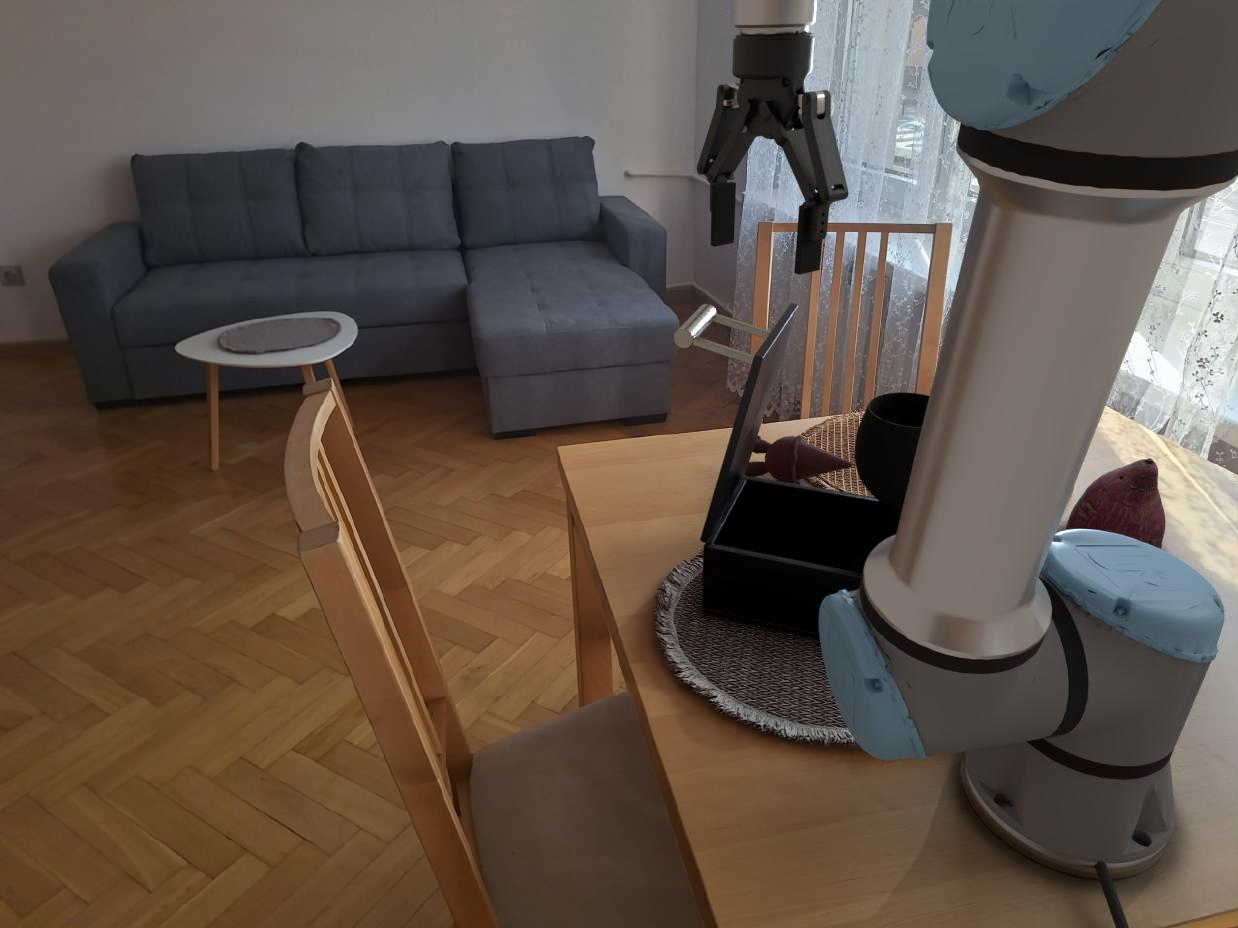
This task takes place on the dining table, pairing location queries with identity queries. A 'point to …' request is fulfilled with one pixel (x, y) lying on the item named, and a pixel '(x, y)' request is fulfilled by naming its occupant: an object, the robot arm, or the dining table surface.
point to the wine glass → (889, 450)
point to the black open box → (787, 553)
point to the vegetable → (1123, 504)
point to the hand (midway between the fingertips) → (762, 257)
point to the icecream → (793, 460)
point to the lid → (752, 398)
